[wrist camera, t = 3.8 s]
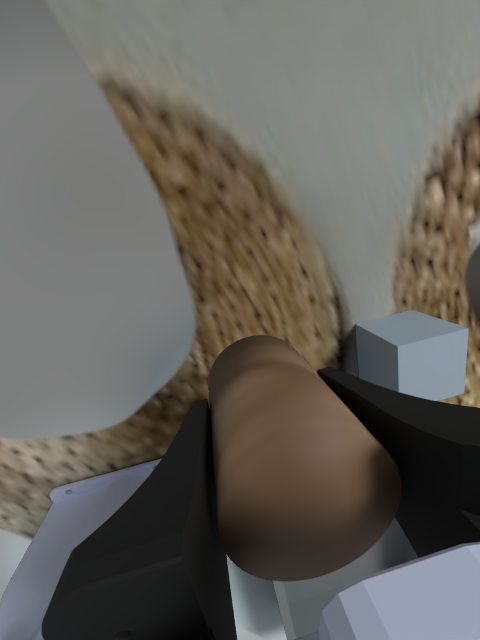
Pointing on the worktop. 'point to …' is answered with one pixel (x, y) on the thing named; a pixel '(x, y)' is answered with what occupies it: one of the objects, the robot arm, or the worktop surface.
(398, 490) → the brown potato
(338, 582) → the tote
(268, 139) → the worktop surface
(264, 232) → the worktop surface
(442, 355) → the slate cube
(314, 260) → the worktop surface
